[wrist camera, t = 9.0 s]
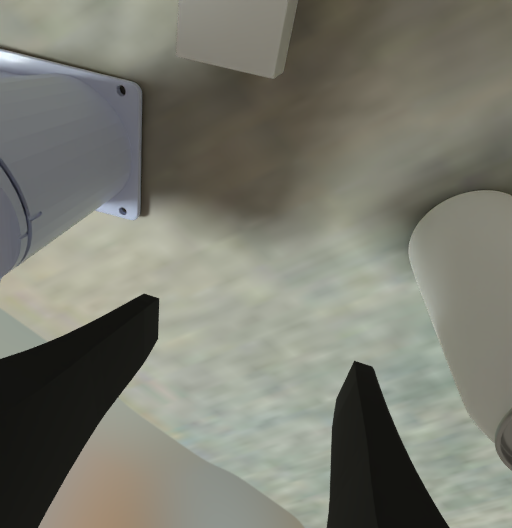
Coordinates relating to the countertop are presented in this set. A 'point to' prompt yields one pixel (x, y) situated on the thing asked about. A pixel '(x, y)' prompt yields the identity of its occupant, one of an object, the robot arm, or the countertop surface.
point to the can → (472, 302)
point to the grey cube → (237, 33)
